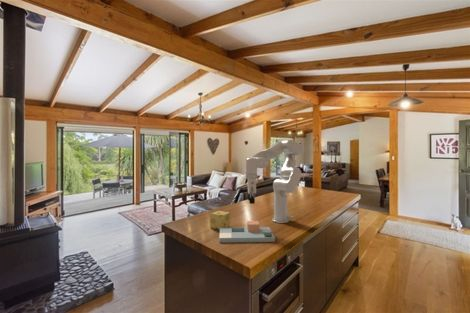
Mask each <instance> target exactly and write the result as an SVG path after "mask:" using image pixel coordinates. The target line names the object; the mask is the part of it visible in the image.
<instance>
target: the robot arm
mask: <svg viewBox="0 0 470 313" xmlns="http://www.w3.org/2000/svg"><path fill="white" fill-rule="evenodd" d="M304 153H305V146H304V145H303V144H301V143H299V142H298V141H295V140H293V139H280V140H278V141H276V142H275V143H274V144H272V145H271V146H270V147H268V148H266V149H263V150H261V151H259V152H257V153H255V154H253V155H252V156H251V157H247V158H245V179H246V180H247V195H248V196H247V200H248V201H249V204H251V205H252V204H253V205H254V204H256V203H255V195H256V194H257V179H258V169H265V168H267V167H268V166H269V160H273V159H276V158H278V157H279V156H280V155H281V154H284V159H285V160H284V163H283V165H282V167H281V169H280V173H279V176H280V177H281V178H276V179H275V180H273V183H272V188H273V194H274V197H273V217H272V218H271V222H274V223H279V224H286V223H289V222H290V219H291V220H292V219H294V218H295V217H294V215H288V196H287V193H288V194H292V193H294V192H295V191H296V190H297V187H298V184H299V182H300V179H301V177H302V171H301V169H300V168H299V167H297V166H296V164H297V159H296V158H295V156H301V155H303V154H304Z"/></svg>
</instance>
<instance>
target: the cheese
mask: <svg viewBox="0 0 470 313" xmlns="http://www.w3.org/2000/svg"><path fill="white" fill-rule="evenodd" d="M231 218H232V217H231V211H223V210H222V211H221V210H217V211H214V212H210V216H209V224H210V225H209V226H210V229H215V230H219V231H220V228H231Z"/></svg>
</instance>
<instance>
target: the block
mask: <svg viewBox="0 0 470 313" xmlns="http://www.w3.org/2000/svg"><path fill="white" fill-rule="evenodd" d="M246 227H247V230H248V232H259V227H260V223H259V220H247V221H246Z"/></svg>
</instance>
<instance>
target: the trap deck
mask: <svg viewBox="0 0 470 313" xmlns="http://www.w3.org/2000/svg"><path fill="white" fill-rule="evenodd" d="M218 239H219V241H218V242H219V243H271V242H272V243H273V242H276V237H275V235H274V234H273V231H272V229H271V228H270V227H269V226H259V232H248V230H247V226H246V227H228V228H220V230H219V237H218Z"/></svg>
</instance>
